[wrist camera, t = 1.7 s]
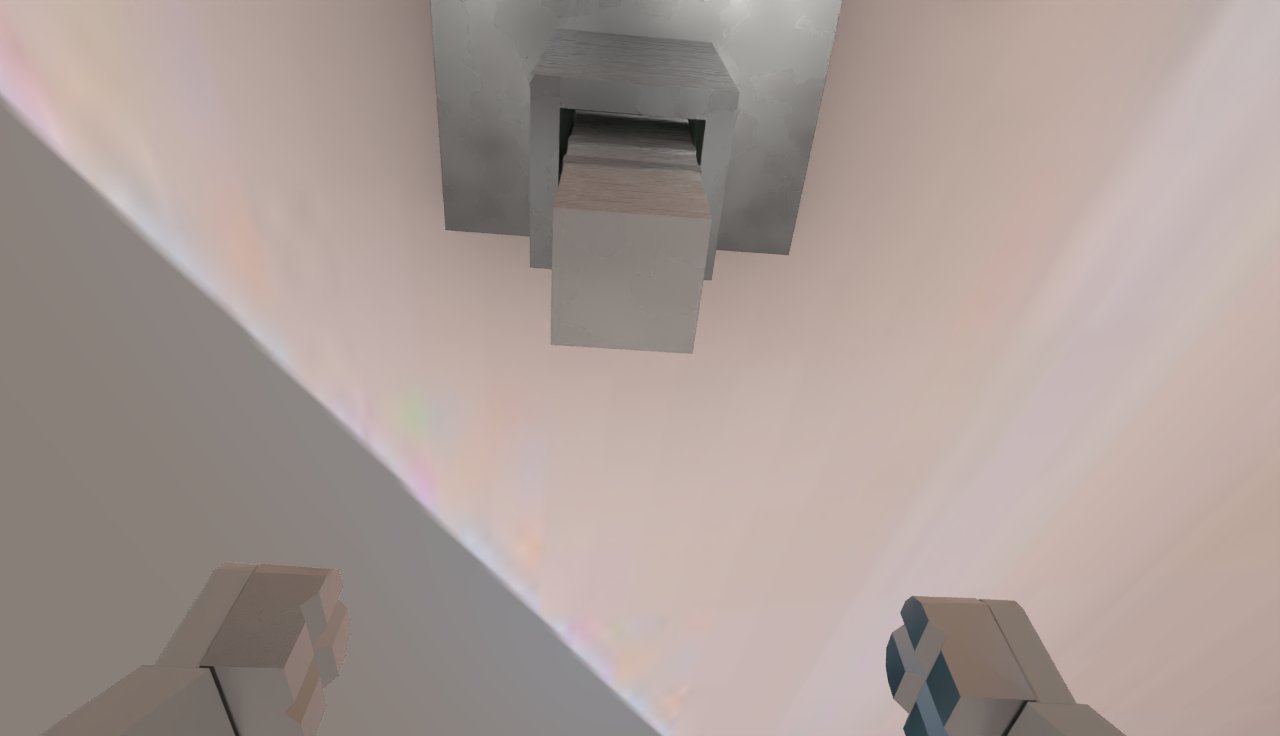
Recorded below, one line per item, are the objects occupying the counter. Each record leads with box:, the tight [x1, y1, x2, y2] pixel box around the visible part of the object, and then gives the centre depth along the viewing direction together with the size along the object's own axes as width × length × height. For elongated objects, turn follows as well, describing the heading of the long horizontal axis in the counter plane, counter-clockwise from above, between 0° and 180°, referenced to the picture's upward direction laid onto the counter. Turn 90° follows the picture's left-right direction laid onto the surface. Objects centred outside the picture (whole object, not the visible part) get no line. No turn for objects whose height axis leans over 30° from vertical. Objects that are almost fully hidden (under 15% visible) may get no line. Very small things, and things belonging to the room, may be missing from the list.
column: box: [551, 109, 712, 354], centre depth 27 cm, size 4×4×18 cm
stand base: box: [430, 0, 842, 280], centre depth 31 cm, size 13×18×13 cm
